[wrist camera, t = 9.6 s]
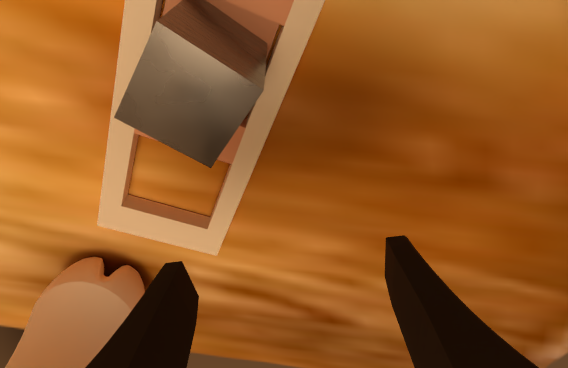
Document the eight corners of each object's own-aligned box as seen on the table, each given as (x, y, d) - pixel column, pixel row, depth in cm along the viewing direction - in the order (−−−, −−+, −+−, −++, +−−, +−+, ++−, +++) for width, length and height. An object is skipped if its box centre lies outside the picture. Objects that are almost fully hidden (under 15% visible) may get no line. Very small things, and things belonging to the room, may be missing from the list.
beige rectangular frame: (436, -279, 12) (450, -297, 11) (218, 243, 26) (216, 255, 25) (195, -453, 10) (186, -495, 9) (104, 213, 24) (97, 225, 23)
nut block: (267, 43, 17) (263, 90, 12) (227, 106, 19) (210, 167, 14) (193, -9, 16) (156, 21, 11) (157, 64, 18) (113, 117, 13)
